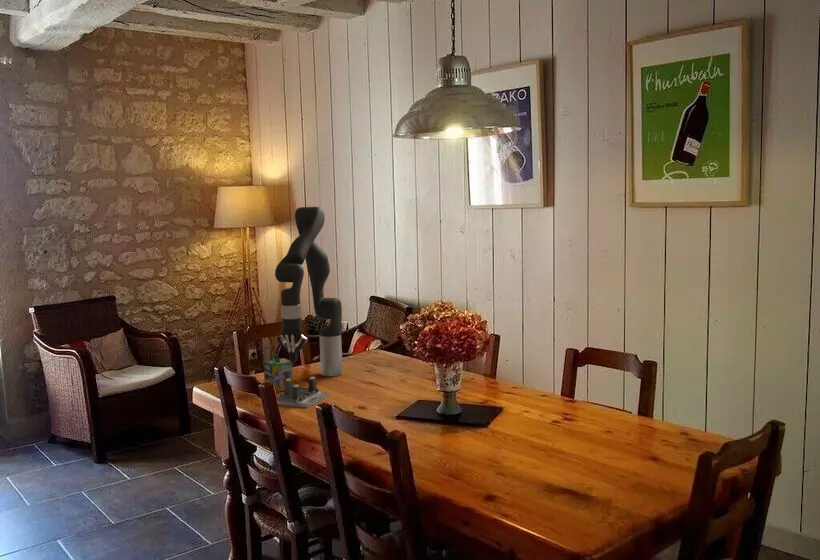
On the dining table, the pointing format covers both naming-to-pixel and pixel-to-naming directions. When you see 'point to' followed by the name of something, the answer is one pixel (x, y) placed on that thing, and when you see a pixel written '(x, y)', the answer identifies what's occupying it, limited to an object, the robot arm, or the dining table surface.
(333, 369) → the robot arm
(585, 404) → the dining table surface
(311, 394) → the grey pegged base plate
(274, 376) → the chalk box
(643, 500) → the dining table surface
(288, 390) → the breaker
